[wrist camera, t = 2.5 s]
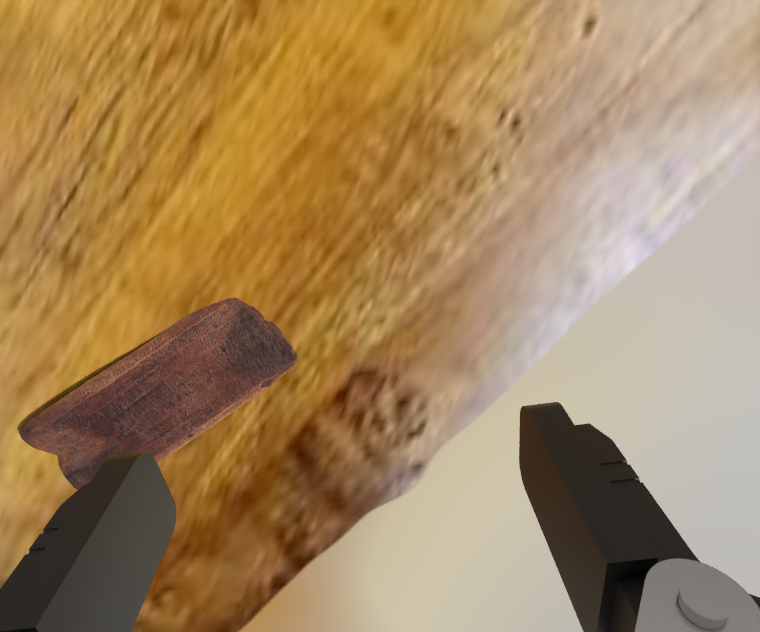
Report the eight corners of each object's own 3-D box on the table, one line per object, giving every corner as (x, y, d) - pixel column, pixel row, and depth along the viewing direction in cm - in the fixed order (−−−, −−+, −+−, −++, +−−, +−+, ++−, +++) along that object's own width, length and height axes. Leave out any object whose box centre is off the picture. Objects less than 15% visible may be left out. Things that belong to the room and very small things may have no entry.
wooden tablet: (237, 281, 36) (308, 381, 38) (247, 276, 39) (313, 371, 41) (5, 432, 41) (79, 513, 43) (25, 420, 43) (94, 498, 46)
